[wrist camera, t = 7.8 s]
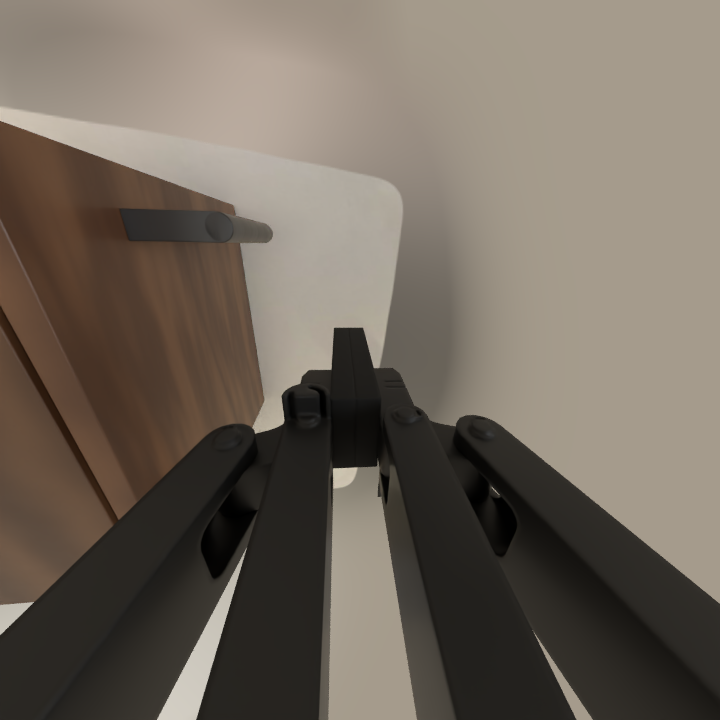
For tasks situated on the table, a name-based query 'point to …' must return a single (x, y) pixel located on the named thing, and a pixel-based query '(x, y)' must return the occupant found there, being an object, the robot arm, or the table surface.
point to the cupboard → (40, 483)
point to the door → (126, 306)
